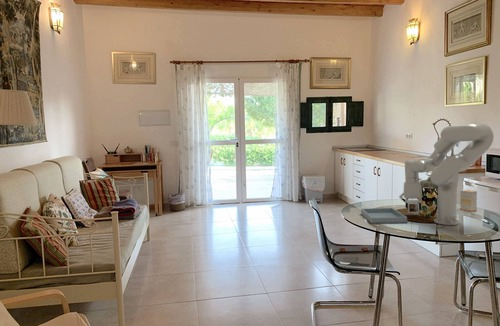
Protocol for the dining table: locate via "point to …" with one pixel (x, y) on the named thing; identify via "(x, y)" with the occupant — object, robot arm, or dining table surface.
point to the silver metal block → (416, 203)
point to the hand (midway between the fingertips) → (413, 208)
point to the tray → (383, 216)
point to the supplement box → (468, 200)
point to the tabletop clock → (428, 183)
